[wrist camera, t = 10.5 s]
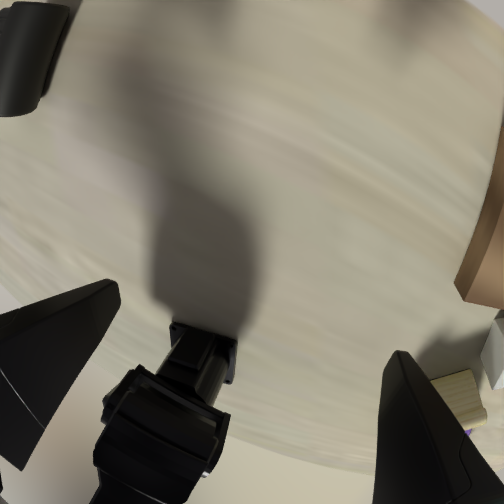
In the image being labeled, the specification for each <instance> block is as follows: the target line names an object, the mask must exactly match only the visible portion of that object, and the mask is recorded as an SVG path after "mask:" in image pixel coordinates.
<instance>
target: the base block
mask: <svg viewBox="0 0 504 504" xmlns="http://www.w3.org/2000/svg"><path fill="white" fill-rule="evenodd" d="M454 284H455V286H456V288H457V290H458V292H459V294H460V295H461V297H462V299H463V301H464V302H469V303H474V304H479V305H483V306H488V307H493V308H498V309H502V310H504V127H501V131H500V137H499V143H498V148H497V153H496V158H495V162H494V167H493V171H492V175H491V179H490V183H489V187H488V190H487V194H486V197H485V201H484V204H483V207H482V211H481V214H480V217H479V220H478V223H477V226H476V229H475V232H474V234H473V237H472V240H471V242H470V245H469V248H468V250H467V253H466V255H465V258H464V260H463V263H462V265H461V267H460V270H459V272H458V274H457V276H456V279H455V281H454Z"/></svg>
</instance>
